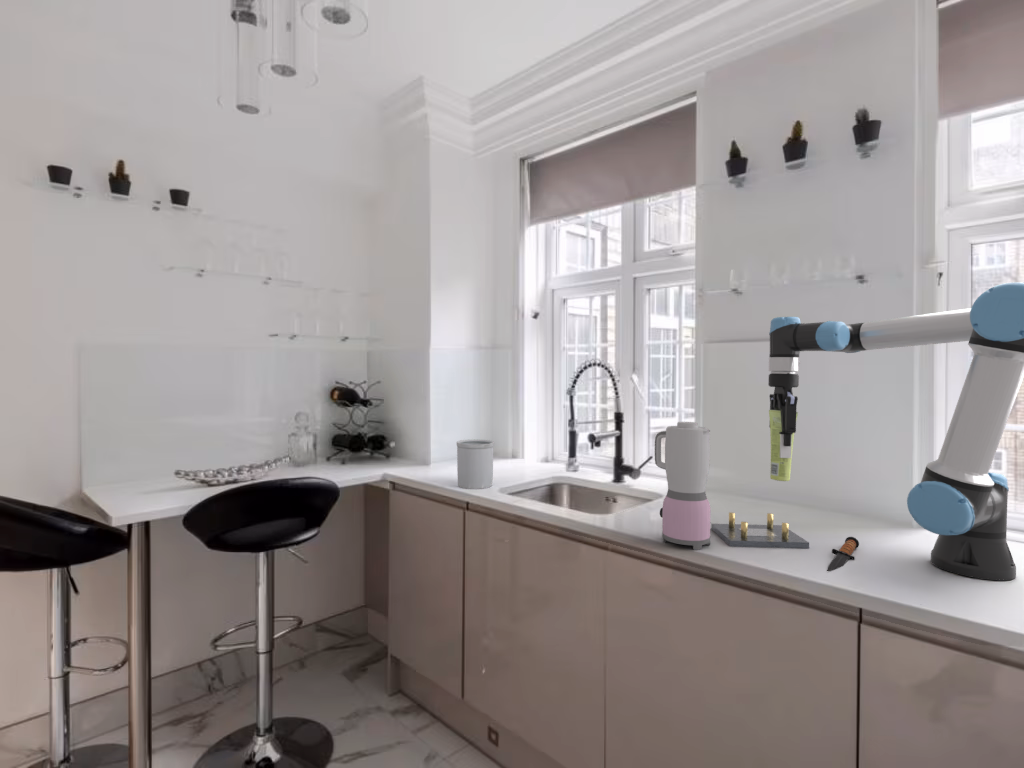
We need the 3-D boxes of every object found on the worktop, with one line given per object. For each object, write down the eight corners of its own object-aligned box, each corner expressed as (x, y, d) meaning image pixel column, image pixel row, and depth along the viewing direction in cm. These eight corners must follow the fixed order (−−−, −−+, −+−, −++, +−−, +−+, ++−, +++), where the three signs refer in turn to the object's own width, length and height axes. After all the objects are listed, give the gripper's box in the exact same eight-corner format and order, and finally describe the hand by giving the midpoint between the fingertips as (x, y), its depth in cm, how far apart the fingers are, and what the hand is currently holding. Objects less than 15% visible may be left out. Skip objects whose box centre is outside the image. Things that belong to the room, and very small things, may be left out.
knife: (842, 573, 120) (817, 563, 124) (839, 585, 121) (814, 575, 124) (865, 540, 139) (843, 532, 142) (862, 551, 140) (840, 543, 143)
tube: (786, 478, 154) (788, 409, 154) (795, 482, 149) (798, 411, 148) (766, 477, 154) (768, 409, 154) (775, 481, 149) (777, 411, 149)
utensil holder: (492, 489, 207) (493, 444, 207) (454, 489, 208) (454, 443, 207) (494, 482, 222) (495, 439, 222) (458, 481, 222) (458, 439, 222)
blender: (719, 543, 144) (721, 422, 143) (697, 553, 135) (699, 425, 134) (665, 530, 155) (667, 418, 154) (642, 539, 146) (643, 421, 146)
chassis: (809, 548, 140) (809, 527, 140) (729, 546, 141) (730, 525, 141) (782, 530, 156) (782, 511, 156) (711, 528, 157) (711, 509, 157)
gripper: (812, 373, 142) (809, 462, 142) (784, 372, 159) (782, 451, 160) (782, 372, 142) (779, 461, 143) (758, 372, 160) (756, 451, 161)
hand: (781, 456), depth 151 cm, fingers closed on tube, 5 cm apart
